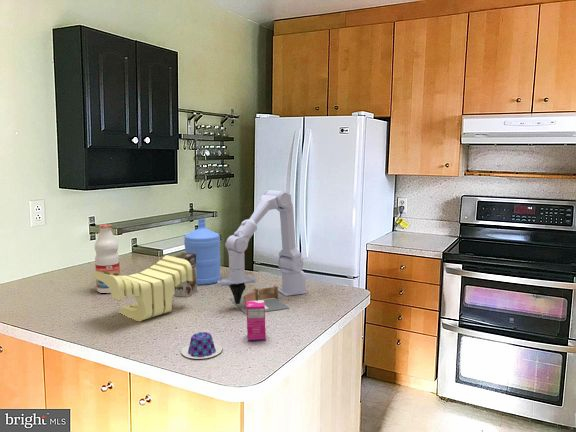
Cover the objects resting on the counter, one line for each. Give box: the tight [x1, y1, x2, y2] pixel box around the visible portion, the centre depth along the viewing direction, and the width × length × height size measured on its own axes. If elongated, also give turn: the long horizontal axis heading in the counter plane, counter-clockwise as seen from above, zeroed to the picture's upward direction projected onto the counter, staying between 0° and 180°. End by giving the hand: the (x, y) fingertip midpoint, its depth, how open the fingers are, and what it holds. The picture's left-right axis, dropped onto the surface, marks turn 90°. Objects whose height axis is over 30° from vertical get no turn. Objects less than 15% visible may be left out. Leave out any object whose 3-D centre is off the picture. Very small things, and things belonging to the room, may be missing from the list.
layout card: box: [230, 294, 290, 316], centre depth 183 cm, size 17×19×1 cm
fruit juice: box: [94, 223, 121, 294], centre depth 198 cm, size 9×9×28 cm
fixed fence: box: [252, 285, 279, 301], centre depth 188 cm, size 10×2×5 cm, turn 113°
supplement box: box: [246, 300, 267, 342], centre depth 150 cm, size 6×6×12 cm
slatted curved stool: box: [93, 254, 193, 322], centre depth 172 cm, size 30×16×18 cm, turn 140°
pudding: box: [181, 331, 223, 360], centre depth 141 cm, size 12×12×5 cm
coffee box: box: [173, 252, 198, 298], centre depth 195 cm, size 9×6×16 cm
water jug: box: [183, 218, 222, 286], centre depth 213 cm, size 16×16×28 cm
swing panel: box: [242, 290, 256, 308], centre depth 181 cm, size 9×1×4 cm, turn 159°
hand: (237, 303), depth 178 cm, fingers closed
